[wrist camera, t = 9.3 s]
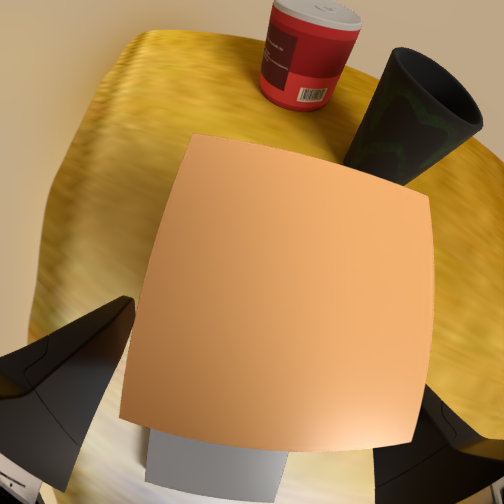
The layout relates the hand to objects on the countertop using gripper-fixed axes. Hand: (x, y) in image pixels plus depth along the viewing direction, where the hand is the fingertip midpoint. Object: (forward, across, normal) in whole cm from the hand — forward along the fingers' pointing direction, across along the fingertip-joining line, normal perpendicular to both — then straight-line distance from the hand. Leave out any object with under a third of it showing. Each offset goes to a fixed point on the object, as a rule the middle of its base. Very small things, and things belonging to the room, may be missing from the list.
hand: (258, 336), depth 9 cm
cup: (+18, -9, -5) cm, 20 cm away
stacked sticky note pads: (+6, 0, +5) cm, 7 cm away
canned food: (+24, -1, -11) cm, 26 cm away
